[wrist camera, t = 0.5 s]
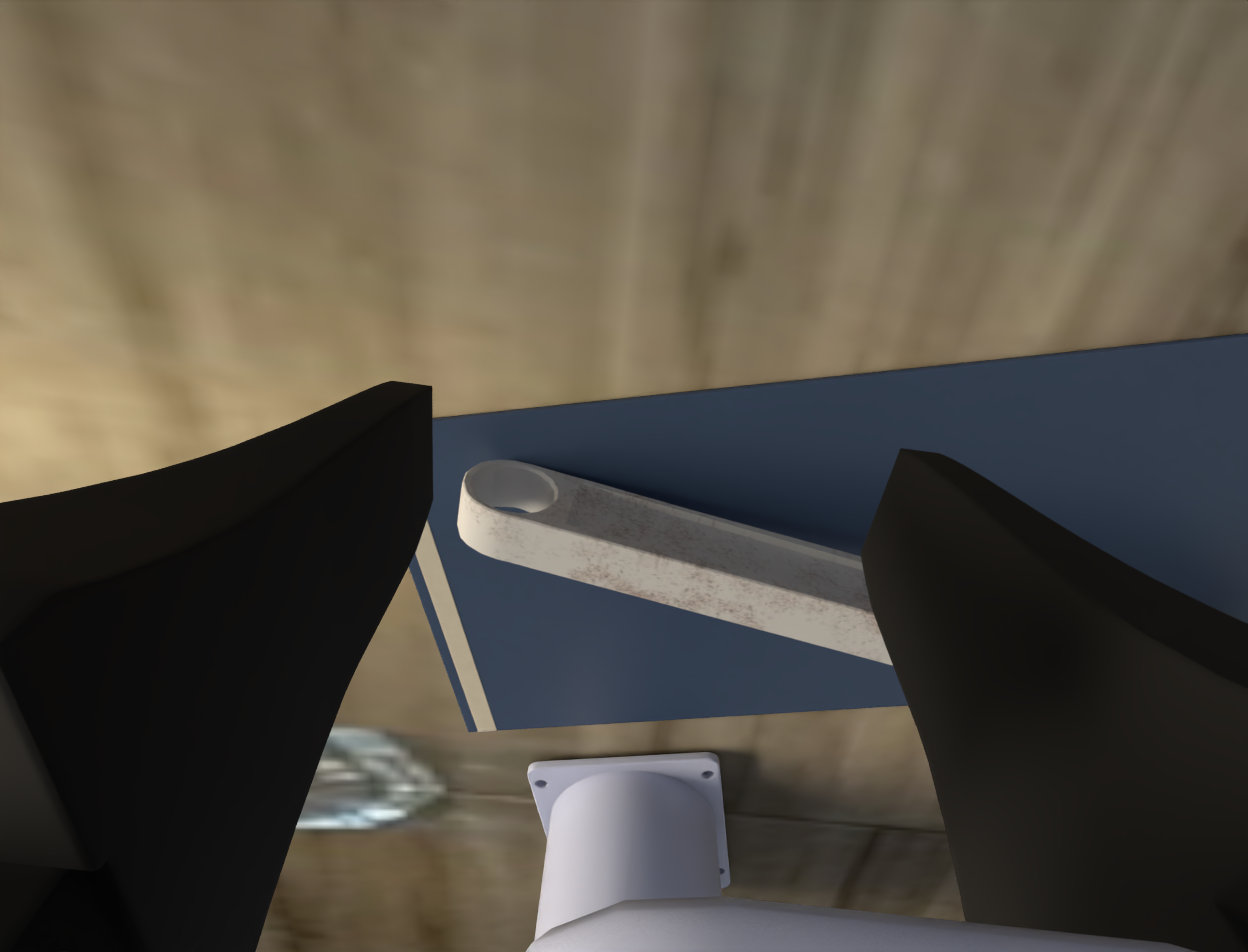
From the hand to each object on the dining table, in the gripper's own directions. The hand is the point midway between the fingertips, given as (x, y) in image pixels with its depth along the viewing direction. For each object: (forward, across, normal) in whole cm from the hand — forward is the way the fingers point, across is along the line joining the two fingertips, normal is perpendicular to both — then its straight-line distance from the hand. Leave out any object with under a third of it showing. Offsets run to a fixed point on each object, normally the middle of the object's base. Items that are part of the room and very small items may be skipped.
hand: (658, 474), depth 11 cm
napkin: (+10, -10, +8) cm, 16 cm away
